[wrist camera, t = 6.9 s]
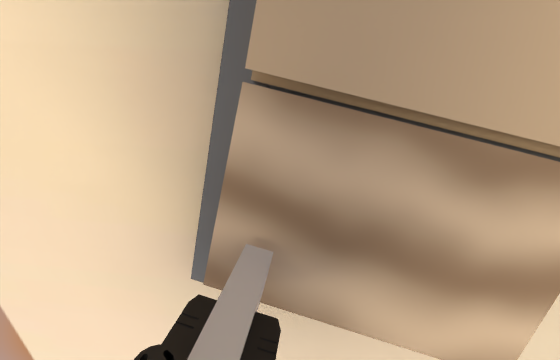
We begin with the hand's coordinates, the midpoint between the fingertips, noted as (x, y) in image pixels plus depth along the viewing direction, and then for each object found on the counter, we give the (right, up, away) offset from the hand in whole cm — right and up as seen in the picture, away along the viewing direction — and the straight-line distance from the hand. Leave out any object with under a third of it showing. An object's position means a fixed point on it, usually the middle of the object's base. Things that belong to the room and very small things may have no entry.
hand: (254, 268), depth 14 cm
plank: (+7, +2, +2) cm, 8 cm away
